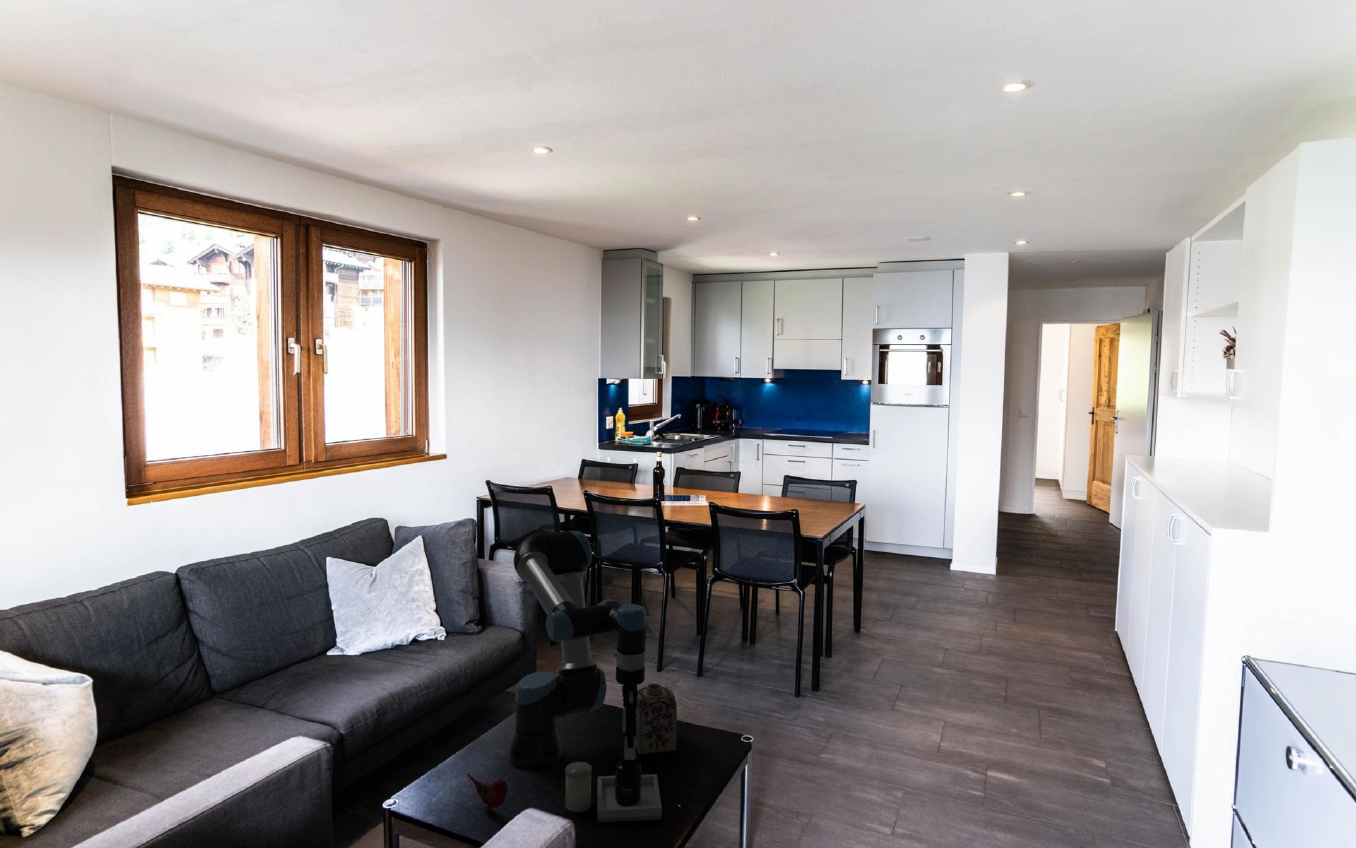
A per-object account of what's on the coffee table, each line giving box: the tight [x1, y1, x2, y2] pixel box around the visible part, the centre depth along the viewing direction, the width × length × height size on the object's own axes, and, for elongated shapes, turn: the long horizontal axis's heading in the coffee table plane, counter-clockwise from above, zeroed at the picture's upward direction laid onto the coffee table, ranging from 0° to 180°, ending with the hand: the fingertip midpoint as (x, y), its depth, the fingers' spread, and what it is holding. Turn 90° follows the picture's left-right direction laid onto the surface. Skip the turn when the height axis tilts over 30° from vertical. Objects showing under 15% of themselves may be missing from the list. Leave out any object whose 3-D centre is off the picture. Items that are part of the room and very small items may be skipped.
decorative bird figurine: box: [466, 773, 509, 816], centre depth 189 cm, size 3×18×10 cm, turn 49°
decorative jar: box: [635, 683, 678, 755], centre depth 225 cm, size 12×12×18 cm
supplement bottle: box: [614, 751, 643, 806], centre depth 193 cm, size 7×7×12 cm
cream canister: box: [564, 761, 593, 813], centre depth 192 cm, size 7×7×10 cm
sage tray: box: [597, 773, 663, 823], centre depth 193 cm, size 16×16×3 cm
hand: (628, 745), depth 193 cm, fingers open, 13 cm apart
